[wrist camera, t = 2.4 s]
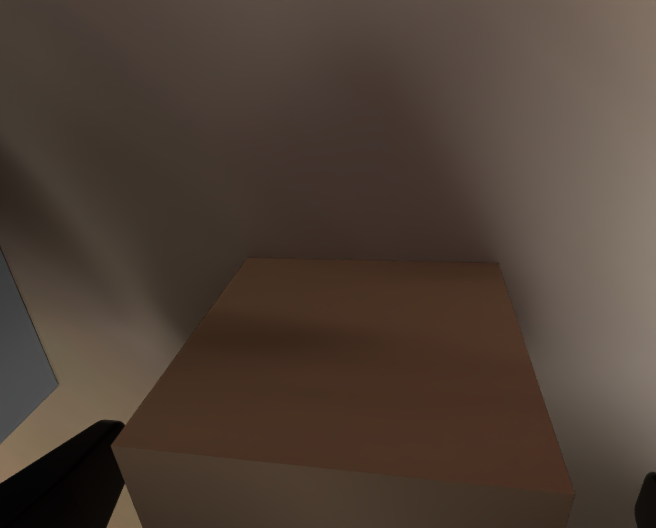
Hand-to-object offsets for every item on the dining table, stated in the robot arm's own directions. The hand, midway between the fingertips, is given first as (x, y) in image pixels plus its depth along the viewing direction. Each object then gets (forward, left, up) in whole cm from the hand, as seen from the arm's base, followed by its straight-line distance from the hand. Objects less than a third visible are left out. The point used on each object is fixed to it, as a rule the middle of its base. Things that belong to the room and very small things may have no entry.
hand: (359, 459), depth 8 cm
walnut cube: (0, 0, -3) cm, 3 cm away
